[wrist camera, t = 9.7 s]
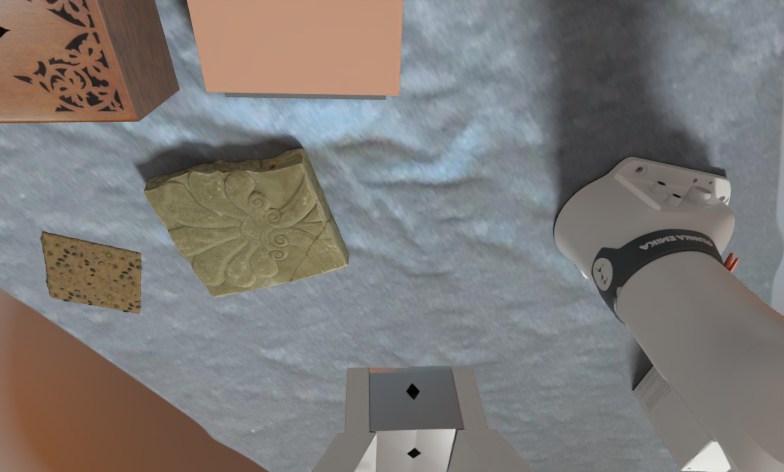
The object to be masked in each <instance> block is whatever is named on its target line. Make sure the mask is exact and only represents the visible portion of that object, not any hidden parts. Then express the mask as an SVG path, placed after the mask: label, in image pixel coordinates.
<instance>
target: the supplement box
mask: <svg viewBox="0 0 784 472" xmlns="http://www.w3.org/2000/svg"><path fill="white" fill-rule="evenodd" d="M633 393H634V395H635V397H636V398H637V400H638V402H639V403H640V405H641V407H642V408H643V410H644V411H645V413H646V415H647V416H648V418H649V420H650V421H651V423H652V424H653V426H654V428H655V429H656V431H657V433H658V434H659V436H660V437H661V439H662V441H663V442H664V444H665V446H666V447H667V449H668V450H669V452H670V454H671V455H672V457H673V459H674V460H675V462H676V464H677V465H678V467H679V469H680V470H682V471H708V472H727V471H728V470H729V469H730V468H731V467H730V465H729V463H728V461H727V459H726V457H725V455H724V453H723V451H722V449H721V447H720V446H719V444H718V442H717V441H716V439H715V438H714V436H713V435H712V433H711V432H710V431H709V429H708V428H707V427H706V425H705V424H704V422H703V421H702V420H701V419H700V417H699V416H698V415H697V414H696V413H695V411H694V410H693V409H692V408H691V406H690V405H689V404H688V403H687V402H686V400H685V399H684V398H683V397H682V396H681V395H680V394H679V392H678V391H677V390H676V389H675V388H674V387H673V386H672V385H671V384H670V383H669V382H668V381H667V380H665V379H664V378H663V377H662V376H661V375H660V374H659V373H658V371H657V370H656V368H655V367H654V365H653V367H652V368H651V369H650V370H649V372H648V373H647V374H646V375H645V377H644V378H643V379H642V380H641V382H640V383H639V384H638V385H637V387H636V388H635V389H634V391H633Z"/></svg>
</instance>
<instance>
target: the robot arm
mask: <svg viewBox="0 0 784 472" xmlns="http://www.w3.org/2000/svg"><path fill="white" fill-rule="evenodd" d="M639 167H640V169H639V170H637V169H638V168H639ZM636 170H637V171H636ZM730 193H731V186H730V182H729V180H728V179H726V178H725V177H723V176H720V175H716V174H711V173H706V172H702V171H697V170H692V169H688V168H683V167H679V166H674V165H669V164H665V163H660V162H655V161H651V160H646V159H641V158H637V157H628V158H626V159H624V160H623V161H621V162H620V163H619V164H618V165H617V166H615V167H614V168H613V169H612V170H611V171H610V172H609V173H608V174H607V175H605V176H604V177H602V178H600V179H598V180H596V181H594V182H592V183H590V184H588V185H587V186H585V187H584V188H582V189H581V190H580V191H578V192H577V193H576V194H575V195H574V196H573V197H572V198H571V199H570V200H569V201H568V202H567V203H566V204H565V206H564V207H563V209H562V210H561V212H560V214H559V216H558V218H557V221H556V224H555V230H554V236H555V242H556V245H557V247H558V248H559V250H560V251H561V252H562V253H563V254H564V255H565V256H566V257H567V258H569V259H570V260H571V261H572V262H573V263H574V264H575V265H576V266H577V268H578V270H579V271H580V273H581V274H582V275H583V276H584V277H585V278H588V279H589V280H590V281H591V282H592V283H593V284H594V285H595V286H596V287H597V289H598V291H599V293H600V295H601V297H602V298H603V300H604V301H605V302H606V304H607V305H608V307H609V308H610V310H611V312H612V313H613V314H614V315H615V316H616V318H617V319H618V320H619V321H621V322H622V323H624V324H626V326H627V327H628V329H629V330H630V332H631V333H632V335H633V336H634V337H635V339H636V340H637V342H638V343H639V345H640V346H641V348H642V349H643V351H644V352H645V354H646V355H647V356H648V358H649V359H650V361H651V362H652V364H653V365H654V367H655V368H656V370H657V371H658V373H659V374H660V375H661V376H662V377H663V378H664V379H665V380H667V381H668V382H669V383H670V384H671V385H672V386H673V387H674V388H675V389H676V390H677V391H678V392H679V394H680V395H681V396H682V397H683V398H684V399H685V400H686V402H687V403H688V404H689V405H690V406H691V408H692V409H693V410H694V411H695V413H696V414H697V415H698V416H699V417H700V419H701V420H702V421H703V422H704V424H705V425H706V427H707V428H708V429H709V431H710V432H711V433H712V435H713V436H714V438H715V439H716V441H717V442H718V444H719V446H720V447H721V449H722V451H723V453H724V455H725V457H726V459H727V461H728V463H729V465H730V467H731V470H732V471H733V472H784V316H783V315H781V314H780V313H778V312H777V311H776V310H774V309H773V308H771V307H770V306H769V305H768V304H766V303H765V302H764V301H763V300H762V299H761V298H759V297H758V296H757V295H756V294H755V293H754V292H753V291H751V290H750V289H749V288H748V287H747V286H746V285H745V284H743V283H742V282H741V281H740V280H739V279H738V278H737V277H735V276H734V275H733V274H732V273H731V272H732V271H733V269H734V268H735V266H736V264H737V262H738V260H739V258H736V259H735V260H734V262H733V263H732V261H733V256H734V254H733V253H730V254H729V256H728V258H727V259H726V261H725V262H724V264H723V261H722V258H721V254H722V252H723V251H724V249H725V247H726V246H727V244H728V242H729V240H730V238H731V235H732V233H733V229H734V224H735V218H734V214H733V212H732V210H731V209H730V208H729V207H728V203H729V199H730ZM731 263H732V264H731ZM312 472H535V471H534V470H533V469H532V468H531V467H530V466H529V465H528V464H527V463H526V461H525V460H524V459H523V458H522V457H521V456H520V455H519V454H518V453H517V452H516V451H515V450H514V449H513V448H512V447H511V446H510V445H509V444H508V443H507V441H506V440H505V439H504V438H503V437H502V436H501V435H500V434H499V433H498V432H497V431H496V430H495V429H488V425H487V422H486V418H485V414H484V410H483V406H482V403H481V399H480V395H479V391H478V388H477V384H476V380H475V376H474V372H473V369H472V368H471V367H470V366H450V367H449V366H426V367H409V368H348V370H347V382H346V407H345V433H339V434H337V436H336V437H335V439H334V440H333V442H332V443H331V445H330V446H329V448H328V449H327V451H326V452H325V453H324V455H323V456H322V458H321V459H320V461H319V462H318V464H317V465H316V467H315V468H314V470H313V471H312Z"/></svg>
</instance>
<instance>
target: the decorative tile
mask: <svg viewBox="0 0 784 472" xmlns="http://www.w3.org/2000/svg"><path fill="white" fill-rule="evenodd" d="M144 194H145V196H146V198H147V199H148V201H149V203H150V204H151V206H152V207H153V209H154V210H155V212H156V213H157V215H158V216H159V218H160V219H161V221H162V222H163V223H164V225H165V226H166V228H167V230H168V232H169V235H170V237H171V239H172V240H173V242H174V243H175V245H176V247H177V249H178V250H179V252H180V253H181V254H182V255H183V256H185V257H186V259H187V260H188V261H189V263H190V264H191V266H192V268H193V270H194V272H195V274H196V275H197V277H198V278H199V280H200V281H201V282H202V283H203V284H205V286H206V288H207V289H208V291H209V293H210V294H211V296H212V297H220V296H225V295H231V294H236V293H240V292H245V291H251V290H256V289H261V288H265V287H270V286H274V285H278V284H282V283H286V282H292V281H296V280H300V279H304V278H308V277H312V276H315V275H319V274H323V273H326V272H330V271H333V270H337V269H341V268H344V267H346V266H348V262H349V253H348V251H347V248H346V246H345V243H344V241H343V239H342V237H341V234H340V232H339V229H338V227H337V224H336V222H335V220H334V218H333V216H332V213H331V211H330V208H329V206H328V204H327V201H326V198H325V195H324V193H323V191H322V189H321V186H320V184H319V182H318V180H317V177H316V175H315V173H314V170H313V168H312V165H311V163H310V161H309V158H308V156H307V154H306V151H305V150H304V149H303V148H298V149H291V150H287V151H285V152H284V153H281V154H279V155H278V156H276V157H275V158H270V159H262V160H259V159H258V160H251V159H247V160H245V161H242V162H228V161H224V160H218V161H216V162H214V163H212V164H206V163H203V164H202V165H197V166H193V167H190V168H188V169H186V170H183V171H178V172H173V173H171V174H170V175H161V176H158V177H154V178H152V179H149V180H148V182H147V184H146V186H145V189H144Z"/></svg>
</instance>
